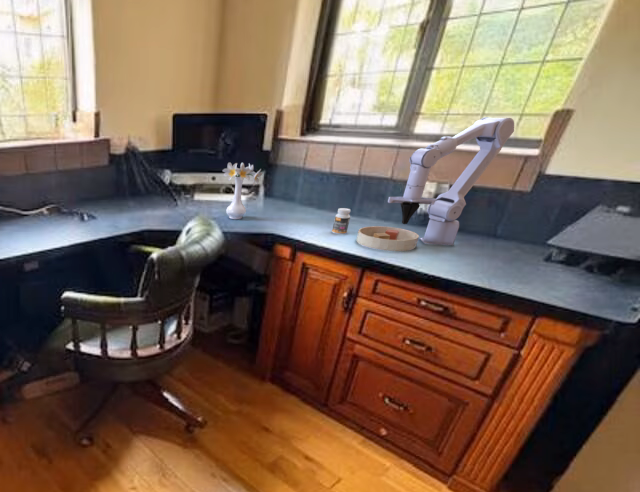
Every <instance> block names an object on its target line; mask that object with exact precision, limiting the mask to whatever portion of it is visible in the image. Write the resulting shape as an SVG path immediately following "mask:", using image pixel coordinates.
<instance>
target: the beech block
mask: <svg viewBox="0 0 640 492" xmlns="http://www.w3.org/2000/svg"><path fill="white" fill-rule="evenodd" d="M373 237H375V238H380V239H388V240H389V238H390V235H388V234H386V233H374V236H373Z"/></svg>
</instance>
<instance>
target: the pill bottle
mask: <svg viewBox="0 0 640 492" xmlns="http://www.w3.org/2000/svg"><path fill="white" fill-rule="evenodd" d="M351 212H352V211H351V209H350V208H346V207H339V208H338V209H337V213H336V214H335V216H334V220H333V225H332V229H331V232H332V233H333V234H339V235H344V234H347V232H348V229H349V224H350V220H351V215H350V213H351Z"/></svg>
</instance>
